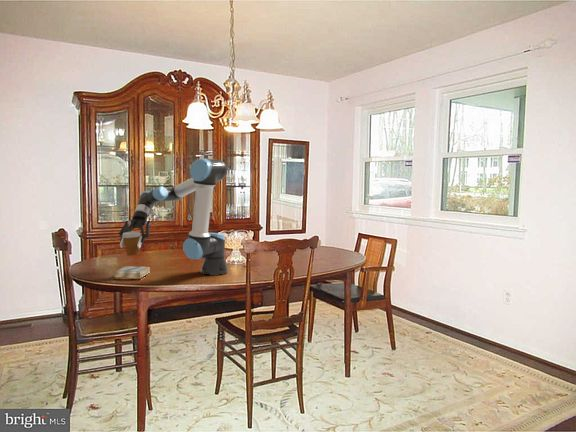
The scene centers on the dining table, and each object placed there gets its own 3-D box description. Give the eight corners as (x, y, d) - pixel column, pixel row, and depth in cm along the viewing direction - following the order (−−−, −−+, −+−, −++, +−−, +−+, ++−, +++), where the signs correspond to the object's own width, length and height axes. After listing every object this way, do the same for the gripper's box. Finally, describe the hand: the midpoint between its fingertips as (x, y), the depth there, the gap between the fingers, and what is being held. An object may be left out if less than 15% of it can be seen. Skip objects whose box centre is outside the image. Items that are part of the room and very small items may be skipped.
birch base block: (149, 274, 239) (149, 266, 239) (140, 280, 225) (140, 272, 225) (125, 273, 240) (125, 266, 240) (114, 279, 226) (114, 271, 226)
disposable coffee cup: (132, 257, 225) (129, 234, 223) (120, 255, 230) (117, 233, 228) (146, 253, 233) (144, 231, 231) (134, 251, 238) (132, 230, 236)
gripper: (161, 218, 245) (151, 251, 231) (124, 217, 246) (112, 250, 232) (158, 210, 239) (147, 243, 225) (120, 209, 240) (107, 242, 226)
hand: (129, 246), depth 228 cm, fingers closed on disposable coffee cup, 9 cm apart
